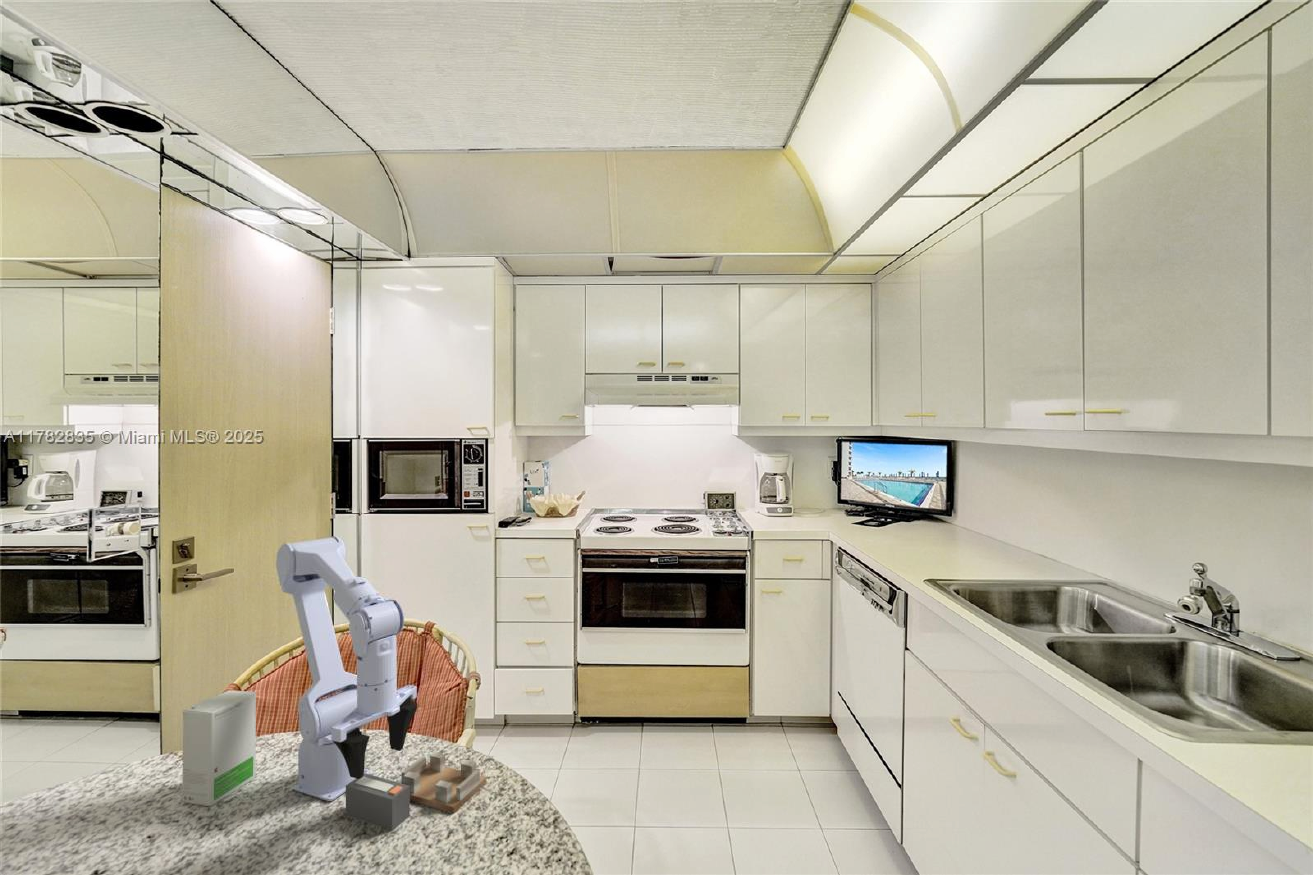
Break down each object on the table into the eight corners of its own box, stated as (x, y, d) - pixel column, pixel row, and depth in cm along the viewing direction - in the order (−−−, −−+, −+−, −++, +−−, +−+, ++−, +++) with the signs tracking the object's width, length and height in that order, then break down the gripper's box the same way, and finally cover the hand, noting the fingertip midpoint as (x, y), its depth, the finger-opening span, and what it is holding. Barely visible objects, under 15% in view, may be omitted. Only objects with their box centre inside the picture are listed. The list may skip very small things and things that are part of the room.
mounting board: (393, 795, 88) (393, 774, 88) (429, 767, 95) (429, 748, 95) (453, 813, 83) (453, 792, 83) (486, 782, 91) (486, 763, 91)
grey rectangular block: (345, 816, 83) (345, 784, 83) (364, 802, 86) (364, 771, 86) (392, 831, 80) (392, 798, 80) (409, 816, 83) (409, 784, 83)
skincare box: (209, 808, 85) (209, 714, 85) (178, 803, 86) (178, 710, 87) (258, 776, 93) (258, 690, 94) (228, 772, 95) (229, 687, 95)
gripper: (355, 703, 75) (355, 796, 75) (430, 663, 89) (430, 742, 89) (321, 695, 78) (321, 786, 77) (399, 658, 91) (399, 734, 91)
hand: (377, 762), depth 83 cm, fingers open, 7 cm apart
